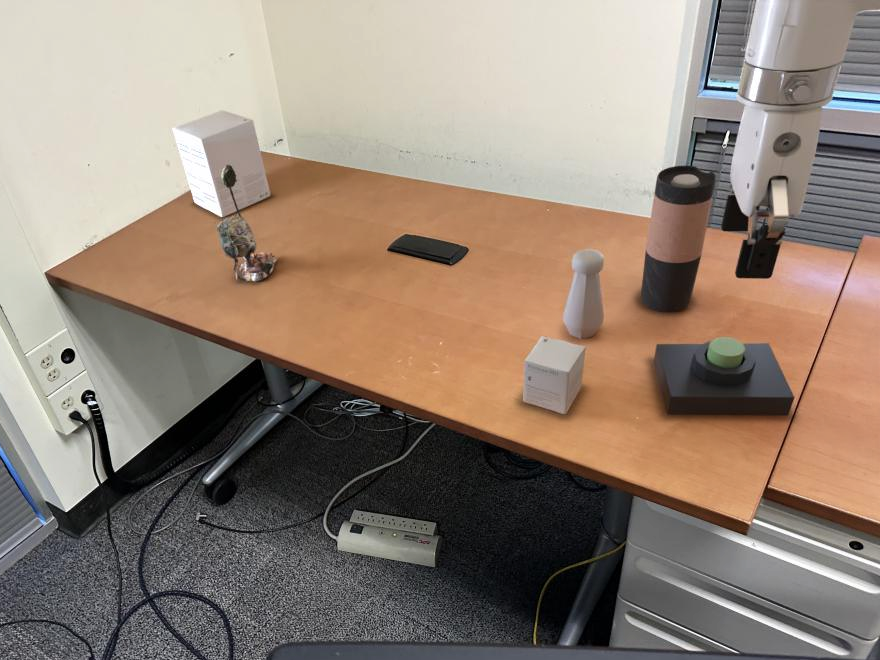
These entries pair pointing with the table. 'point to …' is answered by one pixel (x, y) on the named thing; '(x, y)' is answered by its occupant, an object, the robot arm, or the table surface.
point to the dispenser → (721, 382)
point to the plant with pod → (242, 240)
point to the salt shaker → (585, 295)
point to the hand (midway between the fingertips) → (744, 252)
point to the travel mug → (676, 237)
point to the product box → (553, 374)
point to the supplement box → (222, 161)
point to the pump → (725, 352)
